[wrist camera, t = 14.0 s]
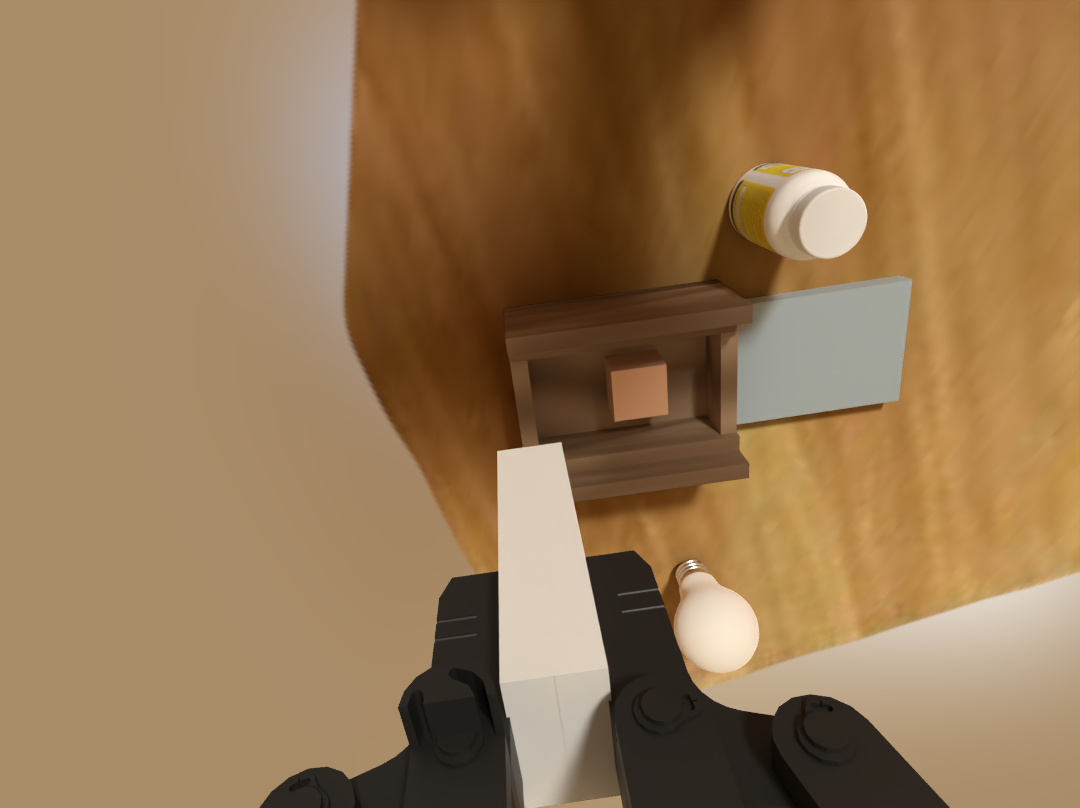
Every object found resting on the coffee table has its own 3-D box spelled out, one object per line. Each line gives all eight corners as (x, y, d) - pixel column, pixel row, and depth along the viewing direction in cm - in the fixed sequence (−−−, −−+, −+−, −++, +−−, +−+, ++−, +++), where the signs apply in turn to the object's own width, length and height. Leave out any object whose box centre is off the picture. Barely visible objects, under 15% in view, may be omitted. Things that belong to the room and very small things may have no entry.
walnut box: (503, 308, 46) (504, 339, 40) (717, 279, 46) (752, 305, 40) (526, 460, 52) (530, 508, 45) (717, 433, 52) (748, 477, 45)
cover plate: (715, 301, 48) (723, 308, 46) (896, 273, 48) (912, 279, 46) (717, 415, 52) (725, 426, 50) (884, 390, 52) (898, 400, 50)
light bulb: (683, 525, 55) (724, 614, 45) (739, 555, 57) (790, 648, 47) (638, 577, 58) (668, 673, 48) (693, 604, 59) (734, 703, 49)
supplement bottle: (752, 257, 46) (815, 290, 37) (712, 198, 44) (767, 219, 35) (816, 206, 45) (896, 228, 36) (777, 144, 43) (851, 151, 34)
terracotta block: (604, 357, 47) (610, 371, 45) (656, 350, 47) (666, 364, 45) (608, 404, 49) (614, 421, 46) (658, 397, 49) (668, 414, 46)
